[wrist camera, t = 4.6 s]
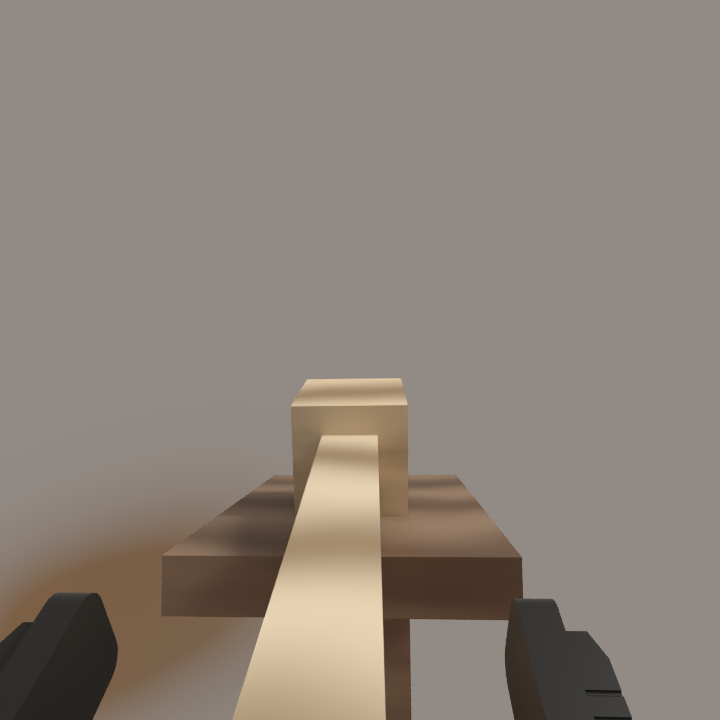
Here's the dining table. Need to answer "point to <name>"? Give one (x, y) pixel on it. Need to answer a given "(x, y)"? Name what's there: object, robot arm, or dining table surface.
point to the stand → (398, 566)
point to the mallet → (333, 557)
